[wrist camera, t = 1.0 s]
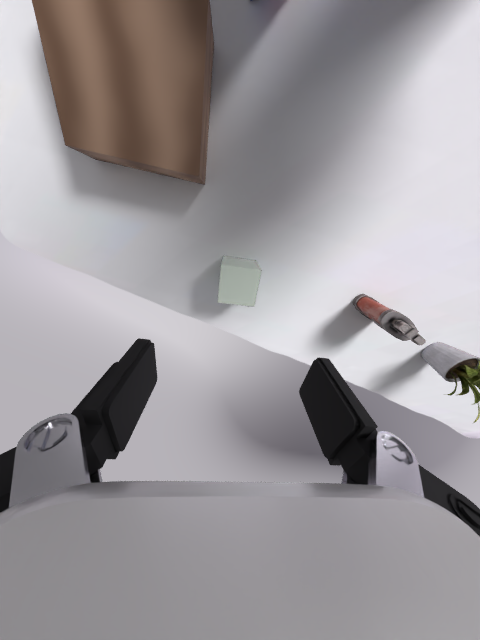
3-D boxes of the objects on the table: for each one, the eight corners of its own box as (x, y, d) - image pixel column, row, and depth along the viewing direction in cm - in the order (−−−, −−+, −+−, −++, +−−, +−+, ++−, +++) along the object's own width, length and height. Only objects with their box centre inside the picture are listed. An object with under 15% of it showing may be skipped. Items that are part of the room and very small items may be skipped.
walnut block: (214, 46, 18) (208, -9, 14) (205, 185, 24) (199, 176, 20) (70, -1, 17) (13, -80, 12) (97, 160, 22) (65, 145, 18)
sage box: (255, 260, 29) (261, 270, 23) (250, 290, 32) (254, 306, 26) (223, 255, 29) (220, 264, 22) (220, 287, 31) (217, 302, 25)
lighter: (348, 303, 34) (388, 331, 25) (363, 290, 32) (410, 314, 24) (372, 322, 36) (417, 354, 28) (387, 310, 35) (438, 339, 26)
